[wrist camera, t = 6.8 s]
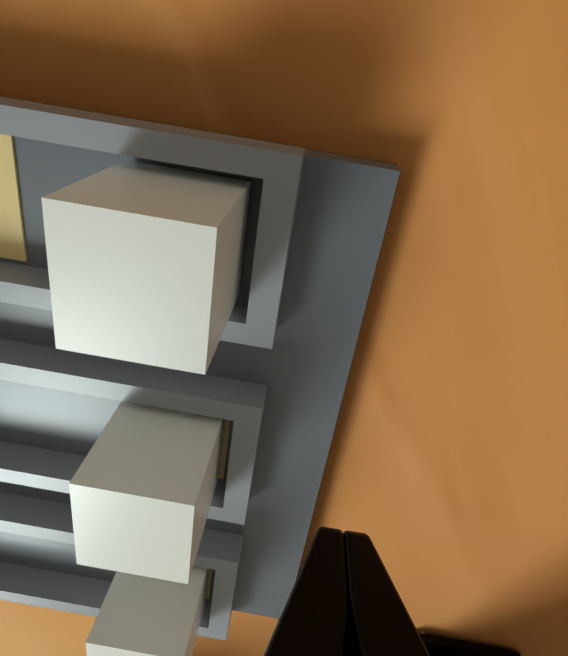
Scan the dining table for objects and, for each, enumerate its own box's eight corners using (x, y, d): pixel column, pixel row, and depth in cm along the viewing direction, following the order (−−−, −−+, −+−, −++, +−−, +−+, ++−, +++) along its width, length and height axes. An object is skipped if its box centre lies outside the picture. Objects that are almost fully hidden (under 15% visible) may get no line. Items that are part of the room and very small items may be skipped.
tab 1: (251, 181, 15) (217, 227, 11) (238, 295, 17) (205, 374, 13) (125, 160, 15) (41, 197, 11) (127, 276, 17) (55, 348, 13)
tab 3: (211, 551, 24) (183, 660, 19) (205, 599, 26) (179, 708, 21) (131, 536, 24) (85, 642, 19) (131, 586, 26) (90, 692, 21)
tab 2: (226, 407, 19) (194, 505, 15) (218, 478, 21) (188, 584, 17) (128, 390, 20) (68, 483, 15) (129, 462, 21) (76, 564, 17)
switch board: (397, 157, 16) (408, 173, 13) (287, 600, 28) (282, 650, 25) (-168, 62, 16) (-256, 61, 14) (-39, 541, 28) (-74, 585, 25)
